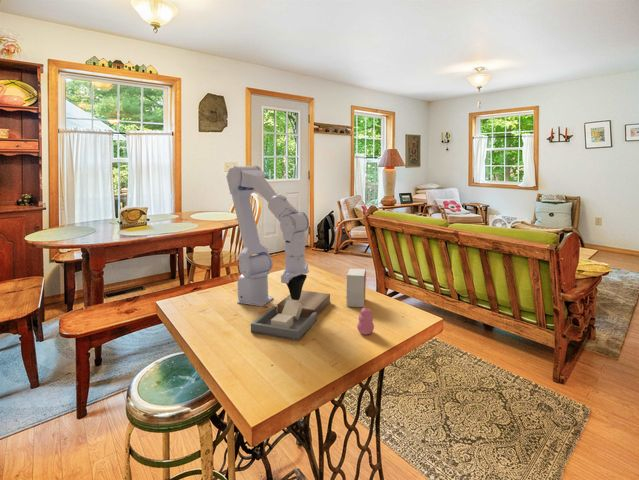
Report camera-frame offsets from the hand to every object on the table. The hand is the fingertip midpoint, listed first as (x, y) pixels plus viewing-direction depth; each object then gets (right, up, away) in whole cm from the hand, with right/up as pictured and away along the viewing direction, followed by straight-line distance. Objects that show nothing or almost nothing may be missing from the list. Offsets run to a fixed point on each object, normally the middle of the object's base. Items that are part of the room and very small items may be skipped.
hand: (295, 299), depth 108 cm
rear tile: (0, -4, -1) cm, 4 cm away
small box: (+19, -3, +11) cm, 22 cm away
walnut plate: (+2, -4, +7) cm, 8 cm away
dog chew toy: (+19, -8, -10) cm, 23 cm away
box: (-3, -7, -6) cm, 9 cm away
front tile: (-3, -4, -7) cm, 9 cm away
